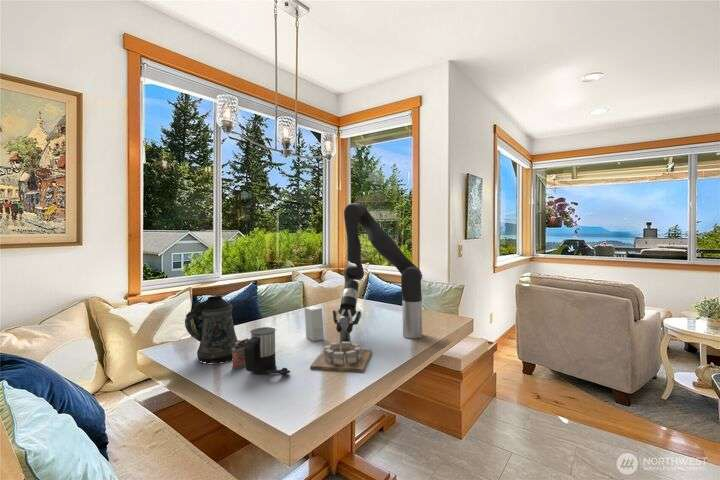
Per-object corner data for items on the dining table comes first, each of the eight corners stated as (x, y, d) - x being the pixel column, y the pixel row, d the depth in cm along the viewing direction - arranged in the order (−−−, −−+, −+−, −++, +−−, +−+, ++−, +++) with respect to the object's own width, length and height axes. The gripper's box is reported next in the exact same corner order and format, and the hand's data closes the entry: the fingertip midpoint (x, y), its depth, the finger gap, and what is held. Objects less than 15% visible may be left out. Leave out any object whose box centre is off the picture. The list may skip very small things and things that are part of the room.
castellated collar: (371, 352, 142) (371, 340, 142) (363, 372, 123) (362, 358, 123) (325, 350, 146) (325, 338, 146) (310, 369, 127) (309, 355, 126)
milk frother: (256, 364, 132) (255, 326, 131) (296, 364, 131) (295, 326, 130) (241, 381, 117) (240, 338, 117) (287, 381, 117) (286, 338, 116)
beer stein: (248, 353, 143) (247, 294, 143) (207, 370, 127) (205, 303, 126) (223, 347, 152) (221, 291, 151) (181, 362, 135) (179, 299, 134)
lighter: (236, 370, 126) (235, 343, 126) (230, 368, 128) (229, 342, 128) (253, 363, 133) (252, 337, 133) (247, 361, 135) (246, 336, 135)
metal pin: (351, 341, 158) (350, 315, 157) (348, 344, 153) (348, 318, 153) (341, 340, 159) (340, 315, 158) (339, 344, 154) (338, 317, 154)
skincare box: (324, 339, 161) (323, 308, 161) (312, 341, 158) (311, 309, 157) (316, 335, 168) (315, 305, 168) (304, 337, 165) (304, 306, 164)
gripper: (333, 295, 164) (326, 327, 152) (362, 295, 161) (358, 328, 150) (336, 303, 169) (330, 335, 158) (364, 304, 167) (360, 336, 155)
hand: (344, 331), depth 154 cm, fingers closed on metal pin, 4 cm apart
